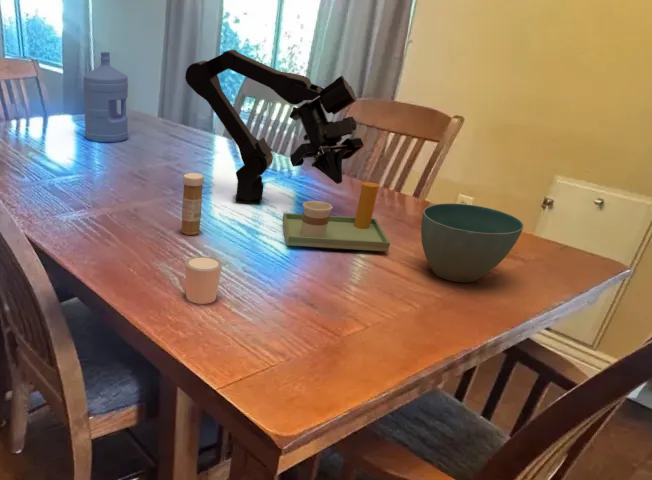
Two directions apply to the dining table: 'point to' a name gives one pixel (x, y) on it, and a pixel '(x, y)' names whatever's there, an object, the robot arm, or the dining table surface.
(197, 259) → the peach tapered cup
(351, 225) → the tray
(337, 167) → the robot arm
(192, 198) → the sprinkles bottle
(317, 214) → the beige banded cup
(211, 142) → the dining table surface
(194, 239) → the dining table surface
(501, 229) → the dark green bowl
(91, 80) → the water jug
